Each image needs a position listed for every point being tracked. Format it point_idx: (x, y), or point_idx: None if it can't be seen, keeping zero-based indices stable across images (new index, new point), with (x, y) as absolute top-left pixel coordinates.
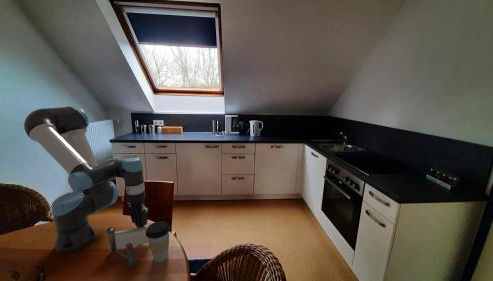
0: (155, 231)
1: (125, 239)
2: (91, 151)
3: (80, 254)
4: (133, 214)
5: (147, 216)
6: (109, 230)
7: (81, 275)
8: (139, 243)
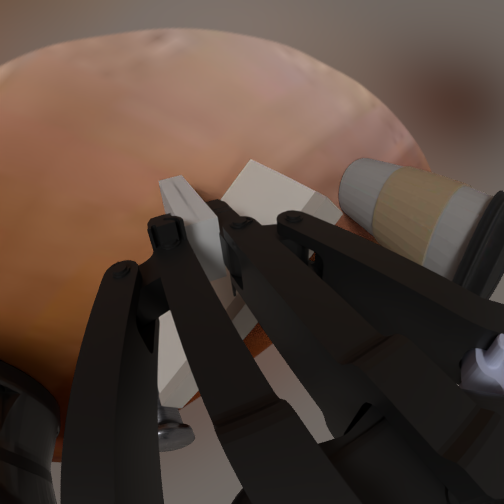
0: (494, 288)
1: None
2: None
3: None
4: (146, 394)
5: (409, 262)
6: (174, 444)
7: (198, 395)
8: None
